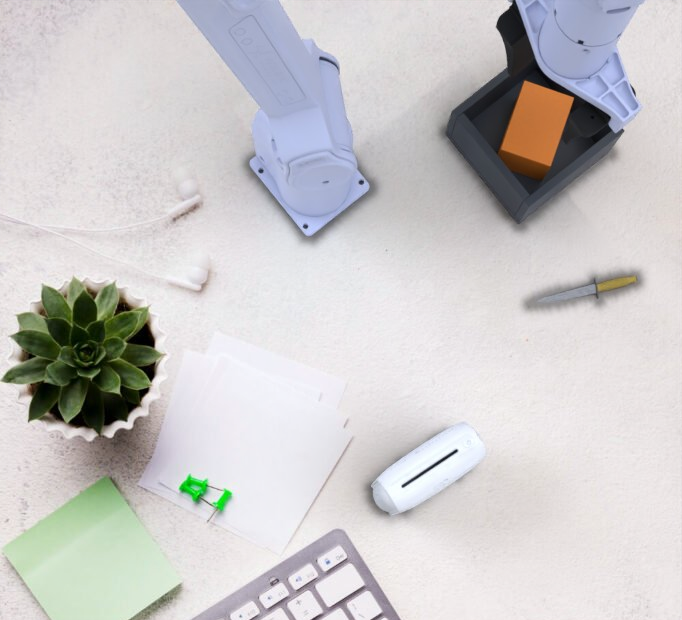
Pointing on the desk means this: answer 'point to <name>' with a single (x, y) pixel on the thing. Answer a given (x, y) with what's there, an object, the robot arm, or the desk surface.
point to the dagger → (590, 289)
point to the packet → (534, 130)
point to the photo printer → (428, 469)
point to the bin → (488, 131)
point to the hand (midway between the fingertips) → (545, 101)
